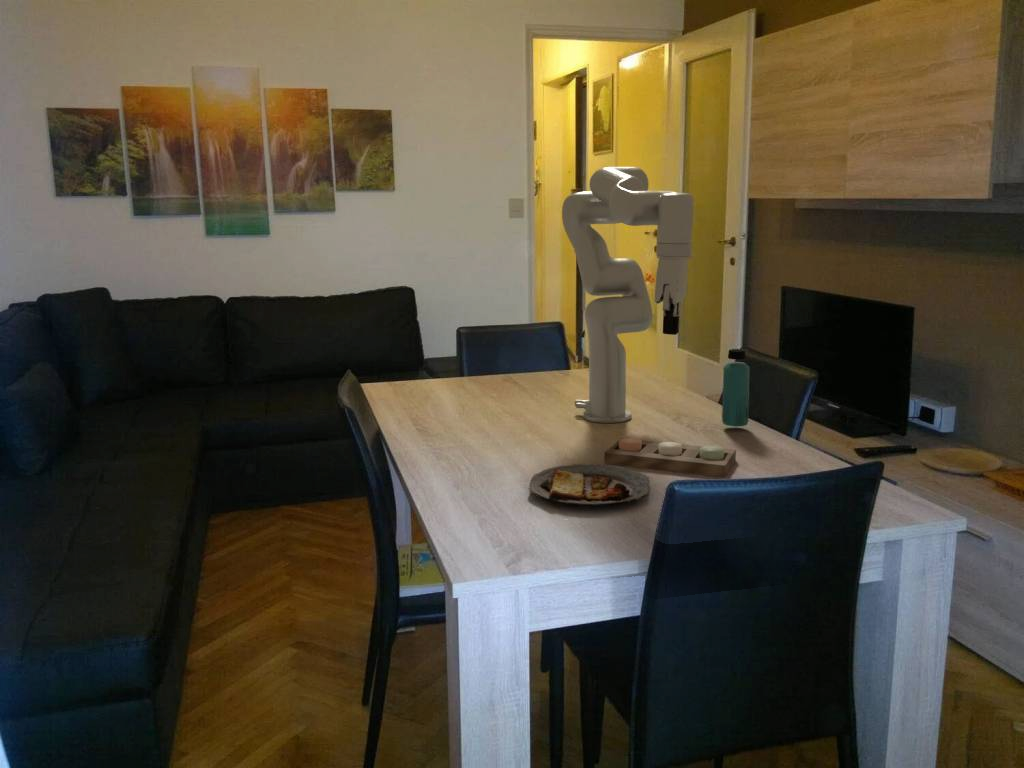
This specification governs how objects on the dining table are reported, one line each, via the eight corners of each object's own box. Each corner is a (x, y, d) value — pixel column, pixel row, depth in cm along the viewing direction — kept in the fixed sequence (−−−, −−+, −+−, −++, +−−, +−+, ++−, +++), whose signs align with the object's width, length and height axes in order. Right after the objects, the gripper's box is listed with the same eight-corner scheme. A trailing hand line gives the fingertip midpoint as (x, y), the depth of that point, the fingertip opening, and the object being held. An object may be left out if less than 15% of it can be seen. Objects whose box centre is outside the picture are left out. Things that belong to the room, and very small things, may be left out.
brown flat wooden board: (604, 463, 187) (604, 452, 187) (621, 448, 198) (621, 438, 197) (724, 477, 177) (725, 465, 176) (735, 460, 187) (735, 449, 187)
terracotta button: (615, 458, 190) (616, 442, 189) (622, 452, 194) (622, 437, 193) (637, 460, 188) (638, 445, 187) (644, 454, 192) (644, 439, 191)
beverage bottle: (749, 433, 209) (752, 352, 204) (721, 432, 210) (723, 351, 206) (747, 426, 215) (750, 347, 211) (720, 425, 216) (722, 346, 212)
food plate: (647, 516, 156) (647, 497, 155) (521, 512, 160) (520, 494, 159) (650, 476, 180) (650, 460, 180) (540, 473, 184) (540, 457, 184)
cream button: (655, 462, 186) (656, 447, 185) (661, 456, 190) (662, 441, 190) (678, 465, 184) (678, 449, 183) (684, 458, 188) (684, 443, 188)
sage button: (697, 467, 182) (697, 451, 182) (702, 460, 187) (702, 445, 186) (720, 469, 180) (721, 453, 179) (725, 462, 185) (726, 447, 184)
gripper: (666, 247, 195) (663, 326, 199) (647, 253, 182) (644, 338, 186) (699, 248, 192) (695, 329, 196) (682, 255, 179) (678, 341, 183)
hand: (670, 333), depth 191 cm, fingers closed
